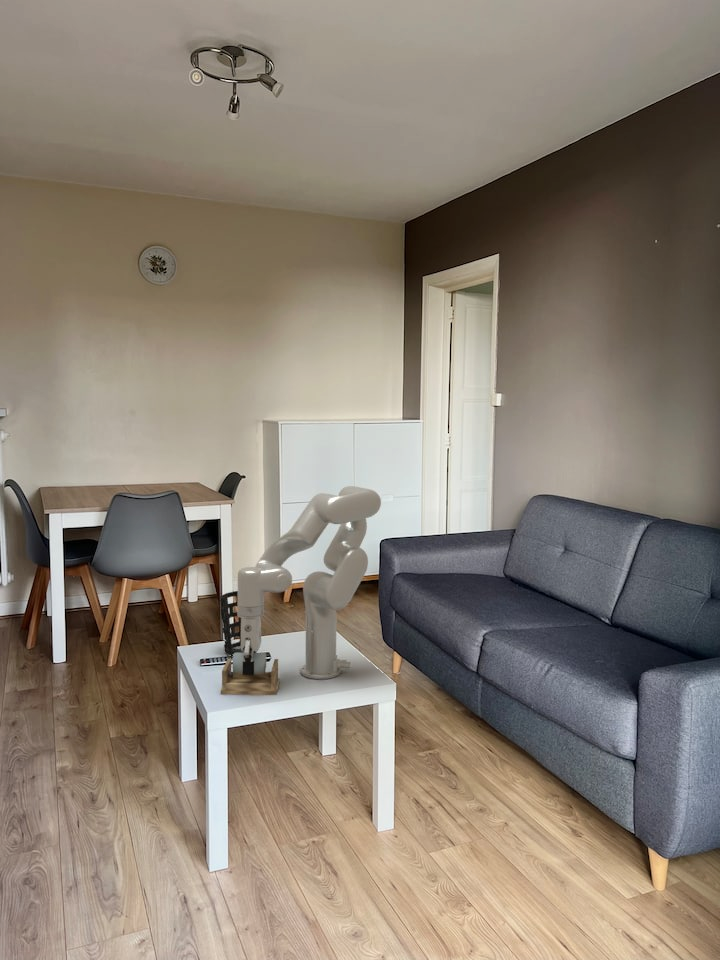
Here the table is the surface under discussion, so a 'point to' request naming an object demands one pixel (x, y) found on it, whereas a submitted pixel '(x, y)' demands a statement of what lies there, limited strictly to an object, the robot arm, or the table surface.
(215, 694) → the table surface
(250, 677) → the cradle
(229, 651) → the holder
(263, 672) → the roll
